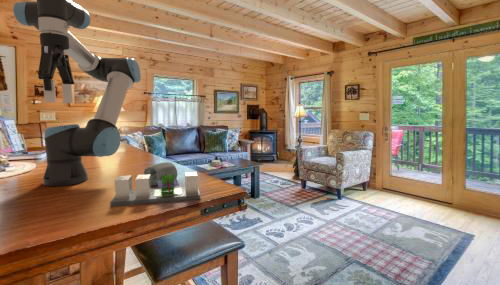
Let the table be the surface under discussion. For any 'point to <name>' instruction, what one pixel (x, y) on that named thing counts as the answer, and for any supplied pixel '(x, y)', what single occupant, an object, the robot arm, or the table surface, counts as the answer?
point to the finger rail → (152, 191)
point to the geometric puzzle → (167, 183)
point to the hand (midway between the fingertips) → (60, 102)
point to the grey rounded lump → (160, 171)
